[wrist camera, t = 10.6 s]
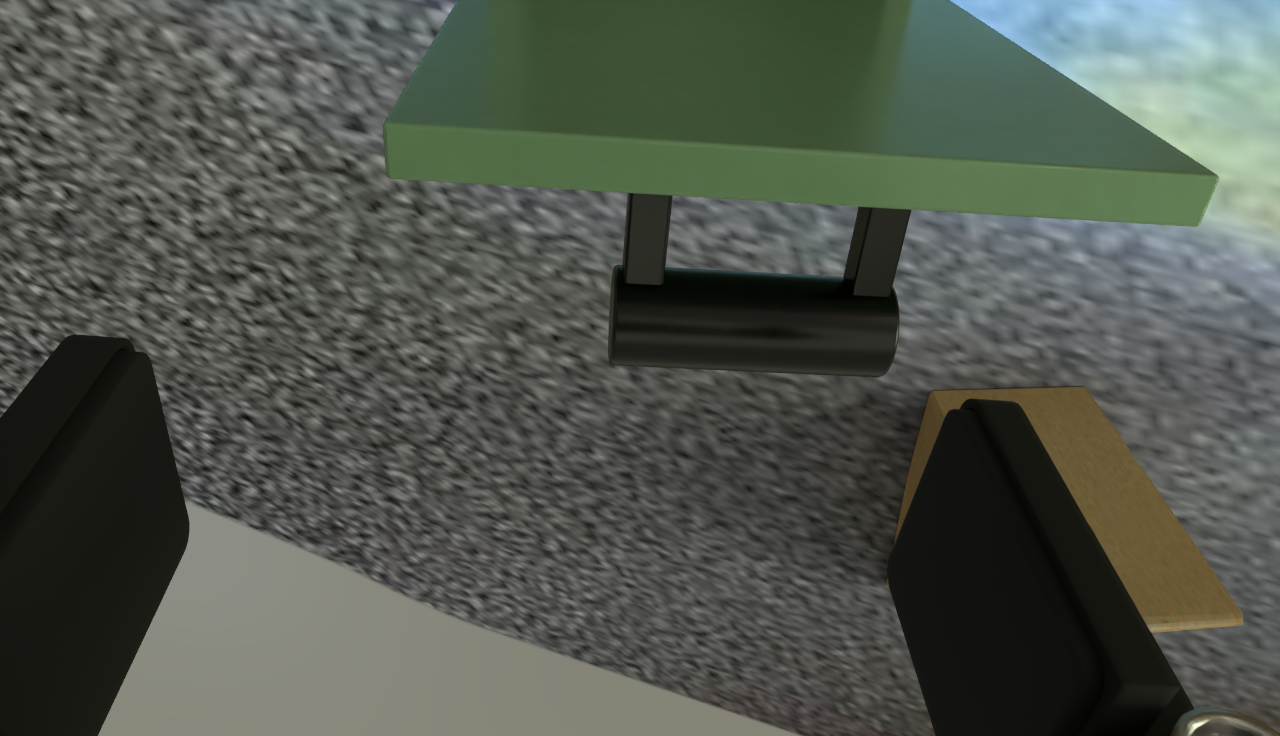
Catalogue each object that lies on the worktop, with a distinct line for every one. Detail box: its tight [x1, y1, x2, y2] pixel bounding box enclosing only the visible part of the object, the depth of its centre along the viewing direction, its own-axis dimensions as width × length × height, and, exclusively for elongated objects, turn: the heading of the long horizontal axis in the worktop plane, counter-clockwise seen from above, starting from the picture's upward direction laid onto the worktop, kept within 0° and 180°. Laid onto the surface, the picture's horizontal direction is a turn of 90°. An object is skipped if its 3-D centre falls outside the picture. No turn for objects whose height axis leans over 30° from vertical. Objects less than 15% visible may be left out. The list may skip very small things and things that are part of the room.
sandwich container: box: [886, 387, 1243, 633], centre depth 47 cm, size 9×15×15 cm, turn 0°
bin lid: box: [383, 0, 1219, 377], centre depth 20 cm, size 14×12×5 cm
